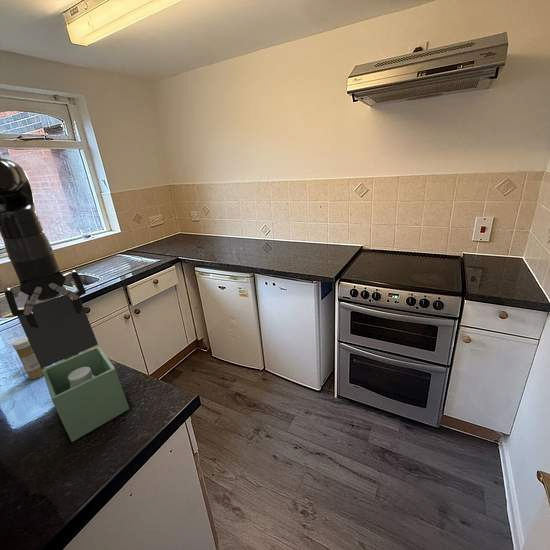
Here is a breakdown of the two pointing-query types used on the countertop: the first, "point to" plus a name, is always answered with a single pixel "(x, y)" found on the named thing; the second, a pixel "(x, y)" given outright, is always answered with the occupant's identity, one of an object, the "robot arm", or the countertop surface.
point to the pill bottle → (80, 376)
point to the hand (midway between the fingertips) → (58, 319)
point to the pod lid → (58, 330)
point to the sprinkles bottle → (28, 358)
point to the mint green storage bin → (85, 393)
